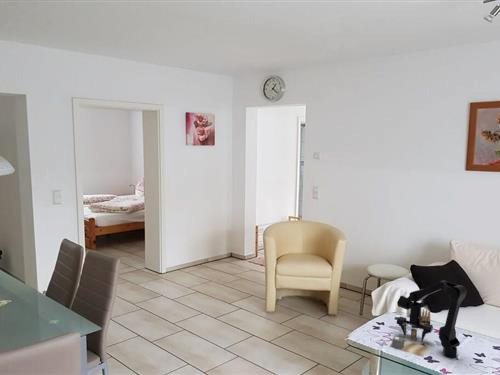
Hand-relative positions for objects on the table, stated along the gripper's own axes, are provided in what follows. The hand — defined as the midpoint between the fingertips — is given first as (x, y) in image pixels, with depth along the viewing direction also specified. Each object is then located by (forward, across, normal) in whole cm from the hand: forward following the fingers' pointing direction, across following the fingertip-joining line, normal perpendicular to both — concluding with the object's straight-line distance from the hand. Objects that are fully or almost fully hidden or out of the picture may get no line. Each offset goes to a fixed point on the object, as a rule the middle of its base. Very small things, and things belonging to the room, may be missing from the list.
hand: (413, 338), depth 235 cm
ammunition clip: (+2, +2, -23) cm, 23 cm away
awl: (+2, 0, 0) cm, 2 cm away
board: (+2, -1, +11) cm, 11 cm away
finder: (0, +4, +15) cm, 15 cm away
